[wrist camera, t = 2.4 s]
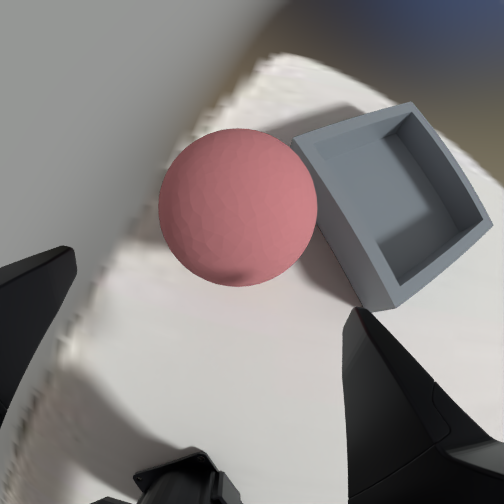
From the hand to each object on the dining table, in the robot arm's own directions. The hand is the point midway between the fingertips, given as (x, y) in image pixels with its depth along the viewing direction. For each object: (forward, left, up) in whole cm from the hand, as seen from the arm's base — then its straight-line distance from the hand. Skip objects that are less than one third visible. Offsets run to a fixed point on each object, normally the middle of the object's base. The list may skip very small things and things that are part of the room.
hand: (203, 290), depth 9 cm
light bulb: (+3, +3, -13) cm, 13 cm away
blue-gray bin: (+16, +1, -12) cm, 20 cm away
